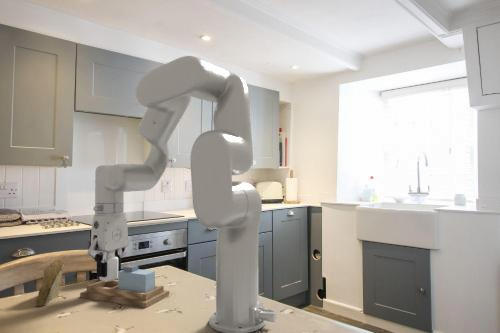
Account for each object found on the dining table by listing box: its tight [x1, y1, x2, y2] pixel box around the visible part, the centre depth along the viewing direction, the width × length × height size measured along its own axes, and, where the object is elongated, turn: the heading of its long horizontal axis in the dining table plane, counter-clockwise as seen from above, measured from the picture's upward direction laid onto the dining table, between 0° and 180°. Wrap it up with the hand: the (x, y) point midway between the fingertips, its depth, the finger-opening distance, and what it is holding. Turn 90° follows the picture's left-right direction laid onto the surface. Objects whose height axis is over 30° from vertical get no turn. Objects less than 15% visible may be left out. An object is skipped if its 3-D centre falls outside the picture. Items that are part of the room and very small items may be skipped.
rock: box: [34, 260, 65, 307], centre depth 97 cm, size 11×9×10 cm
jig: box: [79, 279, 170, 309], centre depth 99 cm, size 22×10×3 cm, turn 68°
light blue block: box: [117, 264, 156, 293], centre depth 98 cm, size 9×4×7 cm, turn 68°
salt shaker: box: [99, 250, 118, 282], centre depth 102 cm, size 4×4×10 cm
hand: (109, 273), depth 101 cm, fingers closed on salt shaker, 4 cm apart
